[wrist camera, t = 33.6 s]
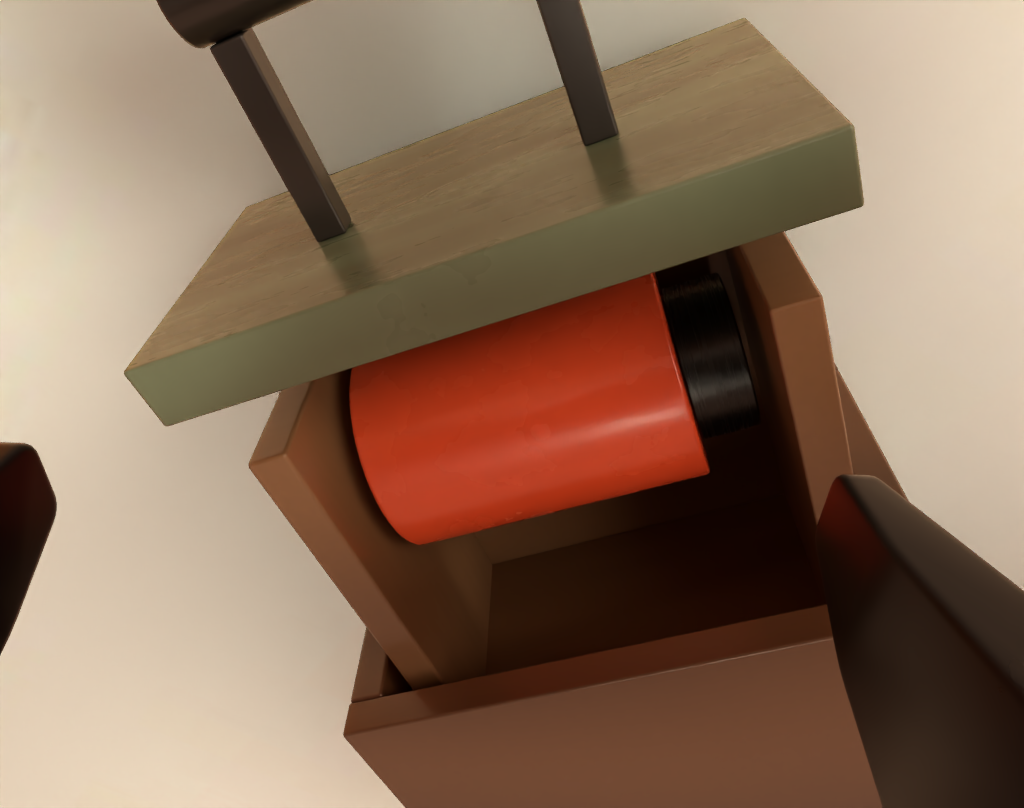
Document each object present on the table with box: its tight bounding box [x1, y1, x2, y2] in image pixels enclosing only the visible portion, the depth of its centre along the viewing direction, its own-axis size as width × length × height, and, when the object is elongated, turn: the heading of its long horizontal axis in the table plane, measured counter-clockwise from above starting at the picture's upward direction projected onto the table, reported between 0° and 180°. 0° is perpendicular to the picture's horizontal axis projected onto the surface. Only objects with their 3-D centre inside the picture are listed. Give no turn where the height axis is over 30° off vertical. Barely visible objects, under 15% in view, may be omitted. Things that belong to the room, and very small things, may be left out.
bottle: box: [349, 272, 761, 545], centre depth 17 cm, size 8×5×5 cm, turn 110°
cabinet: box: [343, 363, 908, 808], centre depth 23 cm, size 14×13×9 cm
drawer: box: [124, 0, 864, 690], centre depth 16 cm, size 17×11×7 cm, turn 20°
